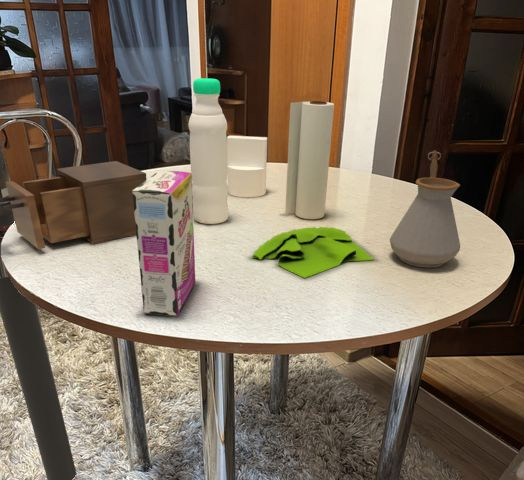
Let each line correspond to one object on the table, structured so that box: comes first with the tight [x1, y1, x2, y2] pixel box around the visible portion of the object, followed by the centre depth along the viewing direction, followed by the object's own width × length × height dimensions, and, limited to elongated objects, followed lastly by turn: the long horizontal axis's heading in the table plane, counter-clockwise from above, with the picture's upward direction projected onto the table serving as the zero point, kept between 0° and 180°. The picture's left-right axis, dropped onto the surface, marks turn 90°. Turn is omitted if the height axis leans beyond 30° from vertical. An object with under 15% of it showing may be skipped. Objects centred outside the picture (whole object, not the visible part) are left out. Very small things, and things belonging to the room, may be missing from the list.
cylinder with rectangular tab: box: [226, 135, 268, 198], centre depth 117 cm, size 9×9×12 cm
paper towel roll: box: [284, 100, 335, 220], centre depth 101 cm, size 7×6×21 cm
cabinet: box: [55, 160, 148, 245], centre depth 93 cm, size 12×12×11 cm
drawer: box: [0, 176, 90, 250], centre depth 87 cm, size 15×10×9 cm
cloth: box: [251, 226, 375, 279], centre depth 88 cm, size 20×22×2 cm
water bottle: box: [187, 77, 229, 225], centre depth 96 cm, size 7×7×25 cm
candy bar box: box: [132, 170, 196, 317], centre depth 68 cm, size 11×5×16 cm, turn 174°
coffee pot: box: [389, 149, 461, 269], centre depth 87 cm, size 21×12×15 cm, turn 166°
